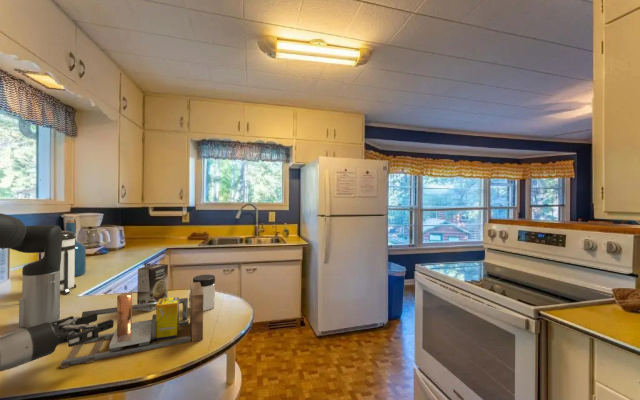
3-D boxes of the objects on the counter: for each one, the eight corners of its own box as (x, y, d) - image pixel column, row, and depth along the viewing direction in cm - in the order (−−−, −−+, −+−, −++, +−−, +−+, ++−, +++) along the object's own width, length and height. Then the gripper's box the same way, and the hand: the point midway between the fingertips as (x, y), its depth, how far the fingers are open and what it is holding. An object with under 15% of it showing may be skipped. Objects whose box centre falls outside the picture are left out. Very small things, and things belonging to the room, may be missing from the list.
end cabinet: (189, 342, 85) (190, 296, 85) (187, 323, 98) (188, 283, 98) (202, 339, 87) (203, 294, 87) (199, 321, 99) (199, 281, 99)
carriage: (109, 352, 77) (109, 304, 77) (118, 331, 88) (118, 289, 88) (154, 343, 82) (155, 298, 81) (157, 324, 93) (157, 285, 93)
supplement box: (158, 332, 91) (158, 298, 91) (179, 329, 93) (179, 296, 93) (155, 341, 86) (155, 305, 86) (177, 337, 88) (177, 302, 88)
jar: (214, 310, 109) (215, 279, 109) (191, 313, 107) (192, 281, 106) (214, 302, 118) (215, 273, 118) (193, 304, 115) (193, 275, 115)
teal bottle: (89, 274, 155) (90, 220, 155) (58, 280, 144) (58, 221, 143) (80, 270, 162) (80, 218, 162) (49, 276, 151) (49, 220, 151)
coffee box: (150, 312, 107) (151, 269, 107) (136, 310, 108) (136, 268, 108) (168, 303, 116) (168, 264, 116) (154, 301, 117) (155, 263, 117)
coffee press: (22, 296, 121) (22, 226, 121) (66, 285, 136) (67, 223, 136) (44, 302, 115) (45, 228, 114) (89, 290, 130) (89, 225, 129)
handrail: (81, 337, 87) (81, 312, 87) (83, 335, 89) (83, 311, 88) (187, 319, 101) (187, 298, 101) (187, 318, 102) (187, 297, 102)
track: (59, 369, 71) (59, 364, 71) (78, 341, 85) (78, 337, 85) (190, 342, 85) (190, 338, 85) (188, 322, 98) (188, 319, 98)
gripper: (37, 337, 61) (118, 311, 76) (12, 323, 68) (91, 301, 82) (36, 371, 61) (118, 339, 76) (11, 354, 68) (91, 327, 82)
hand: (104, 319), depth 79 cm, fingers open, 8 cm apart
